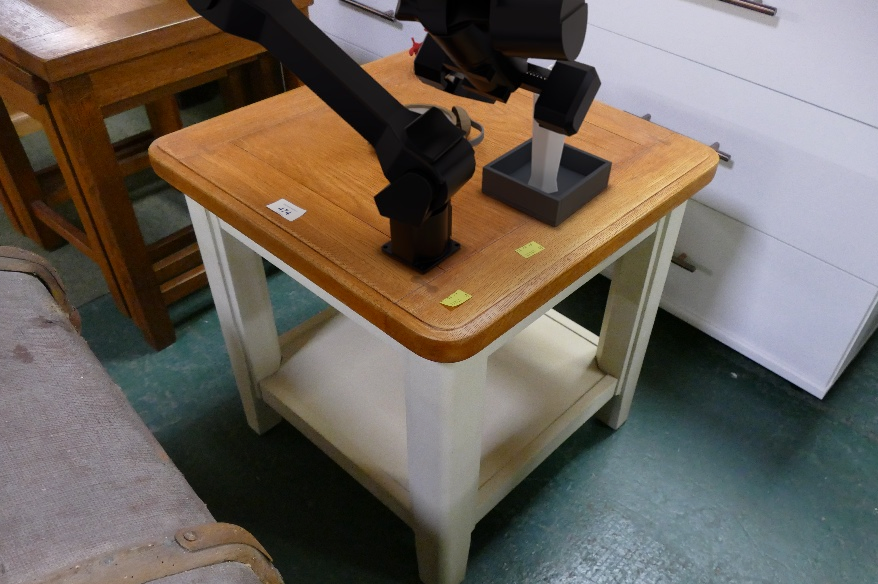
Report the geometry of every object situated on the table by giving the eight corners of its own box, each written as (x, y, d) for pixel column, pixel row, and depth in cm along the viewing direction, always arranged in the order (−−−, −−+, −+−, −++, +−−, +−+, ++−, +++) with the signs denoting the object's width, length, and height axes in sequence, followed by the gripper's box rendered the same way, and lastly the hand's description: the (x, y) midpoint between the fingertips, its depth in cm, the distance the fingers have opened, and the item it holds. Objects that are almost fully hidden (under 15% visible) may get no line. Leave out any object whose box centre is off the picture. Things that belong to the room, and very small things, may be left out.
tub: (555, 227, 79) (558, 201, 77) (481, 192, 84) (482, 166, 81) (607, 187, 86) (612, 162, 84) (536, 157, 91) (539, 132, 88)
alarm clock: (381, 102, 93) (486, 95, 91) (389, 134, 97) (491, 129, 94) (359, 139, 85) (475, 133, 83) (369, 174, 89) (480, 169, 86)
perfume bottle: (568, 187, 84) (586, 69, 74) (545, 199, 82) (560, 79, 72) (542, 173, 87) (556, 56, 76) (518, 184, 84) (529, 65, 74)
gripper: (610, -27, 54) (641, 68, 69) (429, -73, 61) (492, 22, 76) (549, 98, 55) (592, 166, 69) (376, 38, 62) (448, 112, 76)
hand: (529, 112), depth 72 cm, fingers open, 9 cm apart
